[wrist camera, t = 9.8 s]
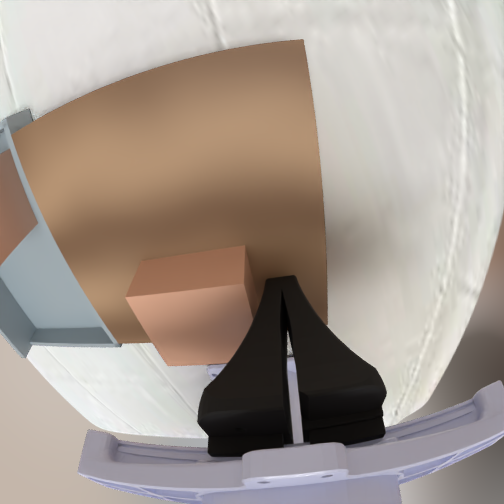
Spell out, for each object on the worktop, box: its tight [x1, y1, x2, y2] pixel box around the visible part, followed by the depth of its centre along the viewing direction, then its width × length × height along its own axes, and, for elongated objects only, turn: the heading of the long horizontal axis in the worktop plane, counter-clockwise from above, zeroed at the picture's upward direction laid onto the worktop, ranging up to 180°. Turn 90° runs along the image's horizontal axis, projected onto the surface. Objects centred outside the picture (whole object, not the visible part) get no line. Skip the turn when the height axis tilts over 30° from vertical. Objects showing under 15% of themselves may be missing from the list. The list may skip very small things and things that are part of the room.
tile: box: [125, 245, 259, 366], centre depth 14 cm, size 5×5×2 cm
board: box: [11, 39, 328, 344], centre depth 14 cm, size 14×13×2 cm
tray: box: [0, 109, 122, 358], centre depth 15 cm, size 16×10×4 cm, turn 10°
